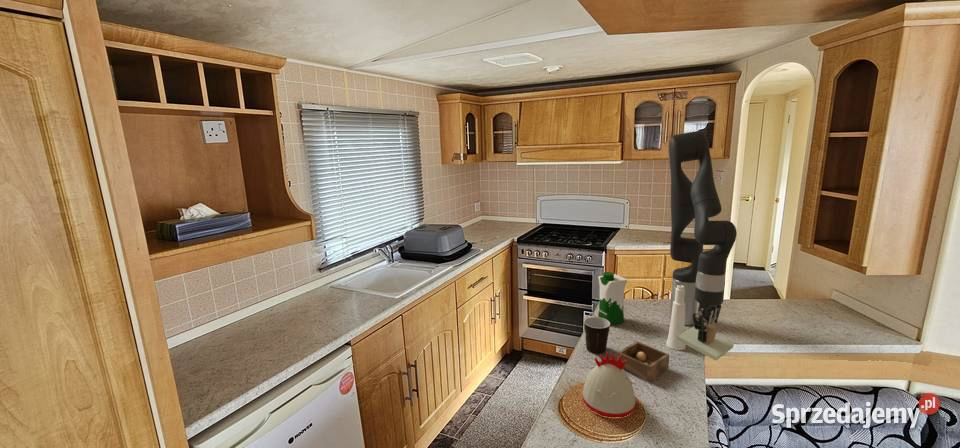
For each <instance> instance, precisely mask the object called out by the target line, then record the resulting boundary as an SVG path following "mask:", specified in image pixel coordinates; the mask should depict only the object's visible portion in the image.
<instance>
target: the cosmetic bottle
mask: <svg viewBox="0 0 960 448" xmlns="http://www.w3.org/2000/svg"><path fill="white" fill-rule="evenodd" d="M684 294H685V289H684V286H682V285H677V288H676V291H675V301H674V302H673V307H672V315H671V320H670V324H669V330H668V336H667V338H666V339H667V340H666V342H665V345H666V346H667V347H668V348H669V349H671V350H675V351H683V350H686V348H687V345H686V344H684V343H682V342H681V341H679V340H677V338H678V336H679V335H681V334H682V333H684V332H686V331H685V326H686V325H685V303H684Z"/></svg>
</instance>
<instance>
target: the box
mask: <svg viewBox="0 0 960 448" xmlns="http://www.w3.org/2000/svg"><path fill="white" fill-rule="evenodd" d="M638 352H643V353H645V355H646V360H645V361H639V360H638V359H637V358H636V354H637V353H638ZM620 354H621V362H624V361H625V360H626V359H627V362H626V364H625V366H624V367H623V368H622V369H623V370H624V371H625V372H626V373H627V374H628V373H629V374H630V375H633V376H634V377H636V378H639V379H641V380H643V381H645V382H647V383H648V384H649V383H651V382H652V381H654V380H655V379H656V378H658V377H659V376H661V375H662V374H664V373H665V372H666V371H668V370H669V363H670V354H668V353H666V352H664V351H662V350H659V349H658V348H654V347H652V346H650V345H647V344H645V343H642V342H640V341H637V340H636V341H635V342H633V343H631V344H630V345H627V346H626V347H624V348H622V349H621V350H619V351H617V352H616V355H617V356H616V361H617V360H618V358H619V356H620ZM645 363H647V364H649V365H647V364H645Z"/></svg>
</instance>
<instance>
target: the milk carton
mask: <svg viewBox="0 0 960 448" xmlns="http://www.w3.org/2000/svg"><path fill="white" fill-rule="evenodd" d="M627 281H628V279H627V278H625V277H622V276H619V275H618V274H615V273H614V272H611V271H605V272H603V273H602V275H600V276H599V275H598V285H599V303H598V305H599V306H598V314H597V315H598V316H597V317H600V318H604V319H606V320H608V321H609V322H610V326H614V325H618V324H621V323H625V315H624V308H625V307H624V305H625V289H626V286H627V285H626V284H627Z"/></svg>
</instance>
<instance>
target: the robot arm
mask: <svg viewBox="0 0 960 448" xmlns="http://www.w3.org/2000/svg"><path fill="white" fill-rule="evenodd" d="M668 158H669V159H668V160H669V169H670V172H669V173H670V215H671V216H670V219H671V220H670V221H671V232H670V243H669V244H670V245H669V246H670V248H669V249H670V250H669V251H670V253H669V254H670V258H671V259H672V260H673V261H677V262H681V263H688V264H689V263H690V265H688V266H683V267H680V268H675V269H674V270H673V272H672V281H671V293H670V294H671V295H670V306H669V307H670V308H669V309H670V310H669V320H670V321H671V315H672V307H673V302H674V301H675V291H676V288H677V285H682V286H684V289H685V294H684V303H685V326H693V327H695V329H697V330H698V340H699V341H701V342H706V338H707V329H708V324H712V325H714V326H715V324H717V323H718V320H719V316H720V314H721V309H722V305H723V303H724V297H725V290H726V289H725V288H726V268H727V260H728V258H729V255H730V253H731V251H732V249H733V246H734V244H735V242H736V240H737V237H738V236H737V228H736V226H735V224H734V222H732V221H729V220H709V218H713V217H716V216H718V215H719V214H721V212H722V210H723V209H722V204H721V202H720V201H721V199H720V197H719V194H718V191H717V188H716V184H715V179H714V172H713V170H714V169H713V164H712V157H711V150H710V144H709V141H708V136H707V135H706V134H705V132H704V131H702V130H695V131H690V132H684V133H679V134H678V133H677V134H674V135H671V136H670V137H669V139H668ZM691 161H698V163H699V166H698V171H697V173H696V175H695V177H694V179H693V181H692V180H690V179H689V178H688V177H687V175H686V174H685V172H684V170H683V167H682V163H683V162H684V163H686V162H691ZM693 221H694V229H693V236H694V238H691V237H683V236H682V234H683V233H684V231H685V229H686V228H687V227H688V226H689V224H690V223H692V222H693ZM704 246H714V247H713V248H711V249H709V250H705V251H704ZM698 304H699V305H698ZM704 324H705V326H704Z"/></svg>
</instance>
